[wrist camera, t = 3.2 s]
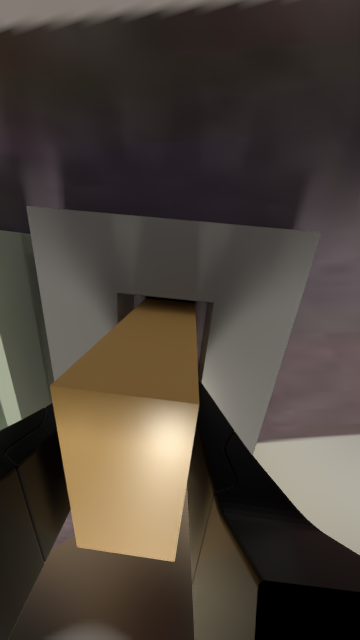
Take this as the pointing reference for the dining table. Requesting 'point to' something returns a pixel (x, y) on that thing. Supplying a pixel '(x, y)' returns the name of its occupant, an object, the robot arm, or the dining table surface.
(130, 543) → the tan rectangular block
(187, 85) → the dining table surface
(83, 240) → the grey slotted plate
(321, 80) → the dining table surface
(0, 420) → the parts tray
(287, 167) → the dining table surface
